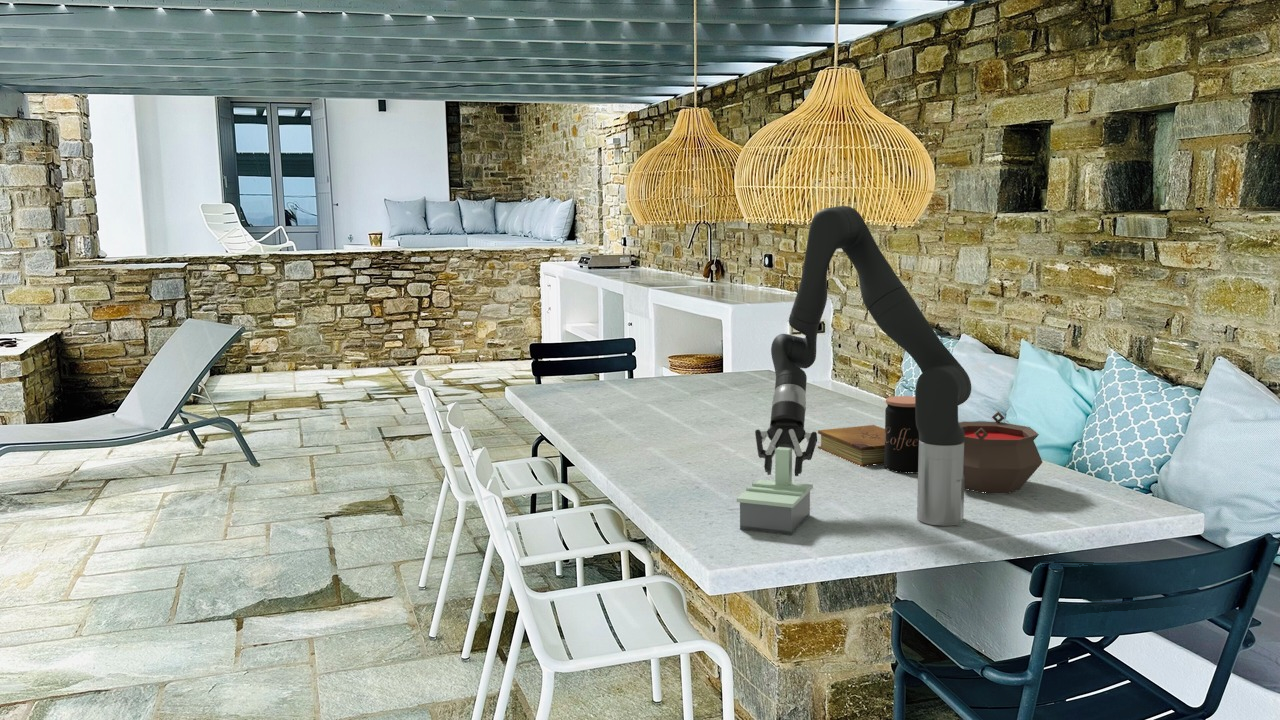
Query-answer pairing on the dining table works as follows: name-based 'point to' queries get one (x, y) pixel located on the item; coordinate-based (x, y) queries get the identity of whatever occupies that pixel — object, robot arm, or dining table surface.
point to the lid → (777, 485)
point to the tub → (774, 517)
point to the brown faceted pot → (998, 455)
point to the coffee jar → (901, 434)
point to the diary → (855, 444)
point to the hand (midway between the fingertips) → (782, 473)
